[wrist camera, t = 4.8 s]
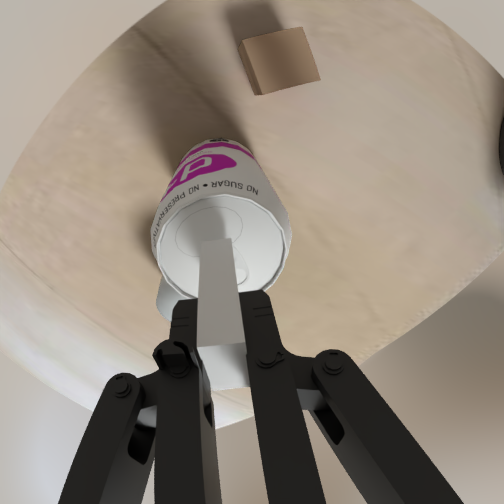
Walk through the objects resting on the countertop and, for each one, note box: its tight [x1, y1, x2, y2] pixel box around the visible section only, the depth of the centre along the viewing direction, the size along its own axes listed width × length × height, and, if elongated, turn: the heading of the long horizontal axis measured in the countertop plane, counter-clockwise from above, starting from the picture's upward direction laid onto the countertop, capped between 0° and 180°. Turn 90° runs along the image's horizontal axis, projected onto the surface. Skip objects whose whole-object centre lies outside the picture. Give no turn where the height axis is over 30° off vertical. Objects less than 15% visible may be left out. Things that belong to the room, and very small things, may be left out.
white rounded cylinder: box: [156, 274, 188, 322], centre depth 31 cm, size 6×6×6 cm
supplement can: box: [151, 138, 292, 299], centre depth 21 cm, size 8×8×15 cm
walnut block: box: [238, 27, 321, 95], centre depth 20 cm, size 5×5×5 cm
